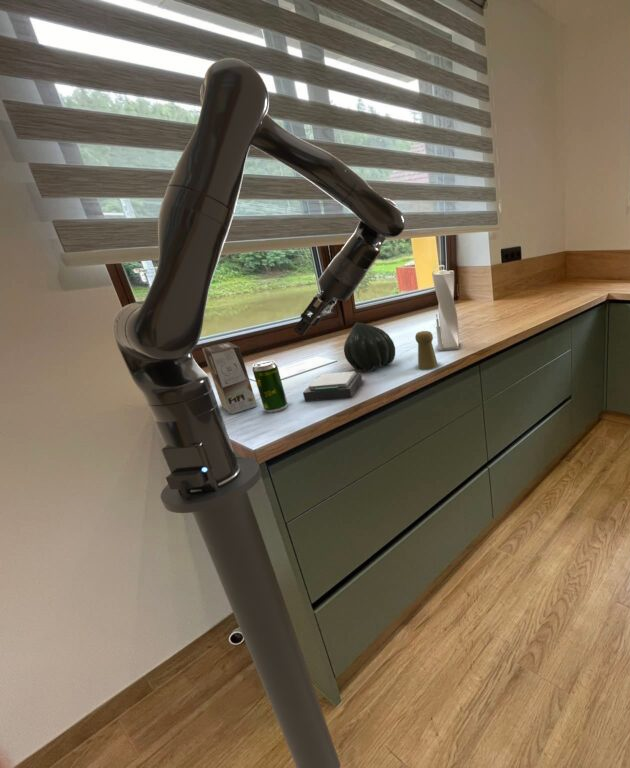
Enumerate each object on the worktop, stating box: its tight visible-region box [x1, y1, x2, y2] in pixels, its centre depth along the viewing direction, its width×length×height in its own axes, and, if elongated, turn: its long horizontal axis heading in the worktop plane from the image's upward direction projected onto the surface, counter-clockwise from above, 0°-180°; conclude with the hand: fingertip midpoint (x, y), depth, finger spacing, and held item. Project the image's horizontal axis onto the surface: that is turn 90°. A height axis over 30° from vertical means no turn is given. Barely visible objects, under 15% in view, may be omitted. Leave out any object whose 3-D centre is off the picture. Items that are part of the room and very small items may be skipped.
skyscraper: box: [431, 264, 460, 352], centre depth 146 cm, size 8×8×28 cm
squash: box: [343, 322, 396, 372], centre depth 133 cm, size 14×15×15 cm
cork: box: [415, 330, 439, 370], centre depth 130 cm, size 6×6×11 cm
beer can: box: [251, 359, 288, 413], centre depth 106 cm, size 5×5×12 cm
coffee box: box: [201, 341, 258, 415], centre depth 108 cm, size 9×6×16 cm
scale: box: [302, 371, 363, 402], centre depth 116 cm, size 12×12×4 cm
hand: (304, 328), depth 101 cm, fingers open, 8 cm apart
